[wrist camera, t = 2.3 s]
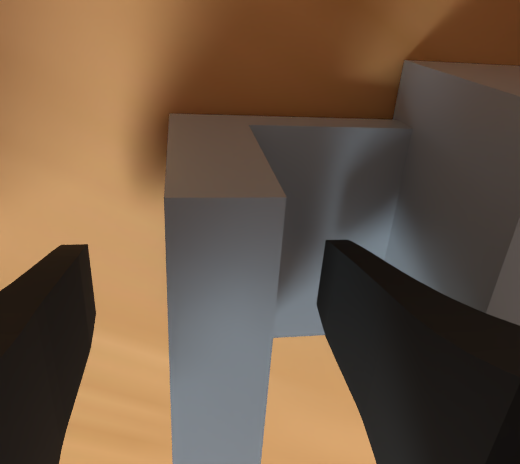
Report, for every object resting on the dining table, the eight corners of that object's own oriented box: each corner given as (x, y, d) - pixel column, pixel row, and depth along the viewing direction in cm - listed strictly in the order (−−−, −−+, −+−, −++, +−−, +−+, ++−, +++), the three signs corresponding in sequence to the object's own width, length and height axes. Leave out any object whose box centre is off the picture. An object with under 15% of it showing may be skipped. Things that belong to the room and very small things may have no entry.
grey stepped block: (175, 353, 17) (175, 523, 11) (168, 48, 12) (161, 94, 7) (582, 329, 19) (733, 457, 14) (704, 75, 15) (996, 123, 9)
